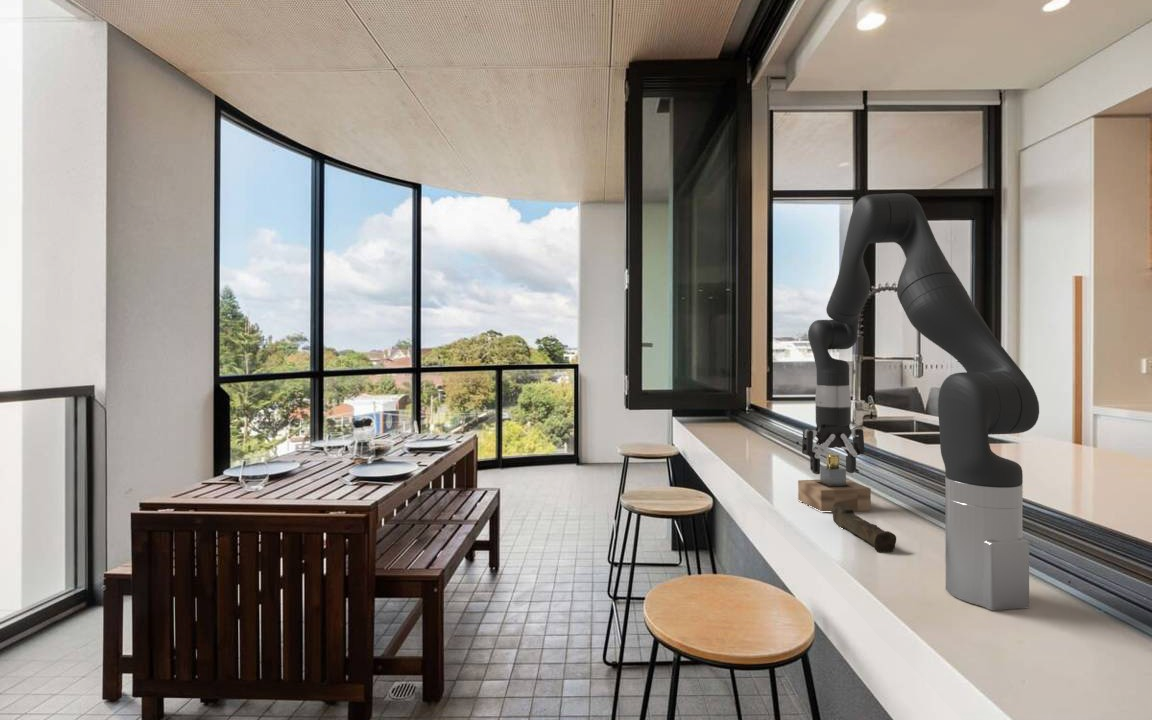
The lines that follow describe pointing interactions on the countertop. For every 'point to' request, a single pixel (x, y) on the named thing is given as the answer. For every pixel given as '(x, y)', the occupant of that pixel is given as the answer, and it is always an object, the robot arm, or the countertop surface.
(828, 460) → the bit
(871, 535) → the dark brown rod
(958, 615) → the countertop surface
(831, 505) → the housing
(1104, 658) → the countertop surface
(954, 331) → the robot arm
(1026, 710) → the countertop surface
